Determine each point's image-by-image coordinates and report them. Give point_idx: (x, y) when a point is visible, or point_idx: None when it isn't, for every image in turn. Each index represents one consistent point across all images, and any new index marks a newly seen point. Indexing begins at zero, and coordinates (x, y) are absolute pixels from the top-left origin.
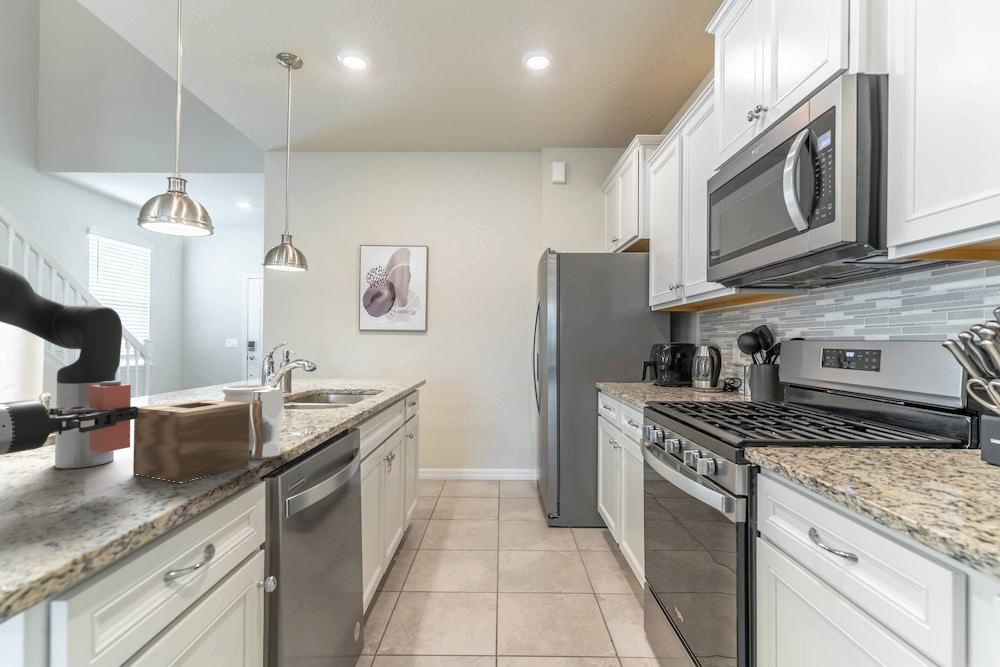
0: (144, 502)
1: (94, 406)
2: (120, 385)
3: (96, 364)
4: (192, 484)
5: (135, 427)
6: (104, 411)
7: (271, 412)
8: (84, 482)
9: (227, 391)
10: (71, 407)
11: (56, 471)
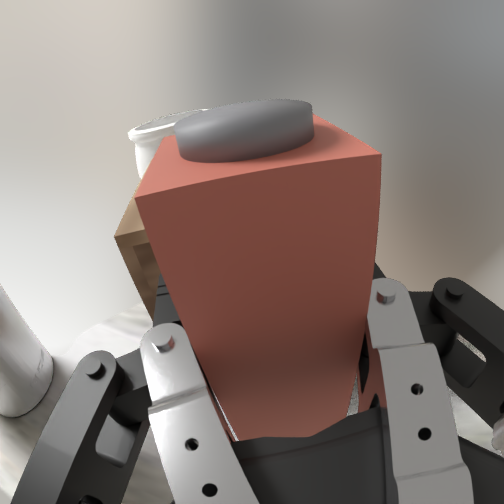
0: (453, 409)
1: (250, 331)
2: (313, 122)
3: None
4: None
5: (144, 290)
6: (465, 318)
7: None
8: (147, 455)
9: (164, 132)
10: (223, 458)
11: (19, 428)
